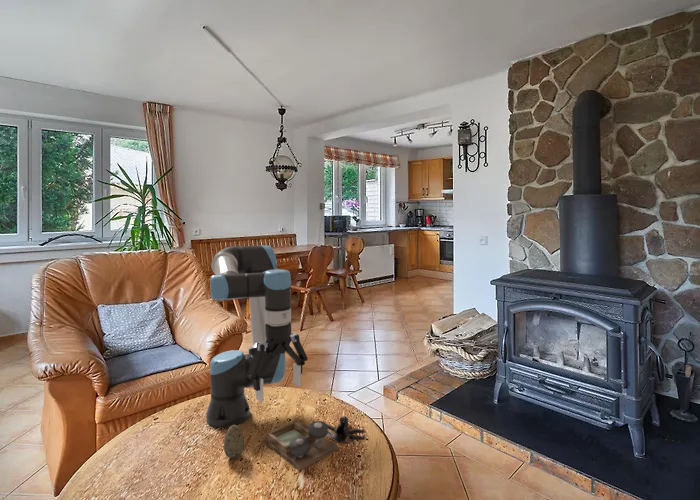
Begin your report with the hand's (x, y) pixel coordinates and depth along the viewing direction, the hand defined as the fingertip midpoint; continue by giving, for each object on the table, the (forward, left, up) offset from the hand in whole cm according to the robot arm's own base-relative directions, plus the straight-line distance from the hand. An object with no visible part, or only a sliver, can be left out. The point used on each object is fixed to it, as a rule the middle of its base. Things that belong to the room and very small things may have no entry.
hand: (279, 392), depth 118 cm
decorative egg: (-10, -10, -21) cm, 25 cm away
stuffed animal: (+3, +23, -21) cm, 31 cm away
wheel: (+5, +10, -15) cm, 19 cm away
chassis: (-1, +8, -20) cm, 22 cm away
